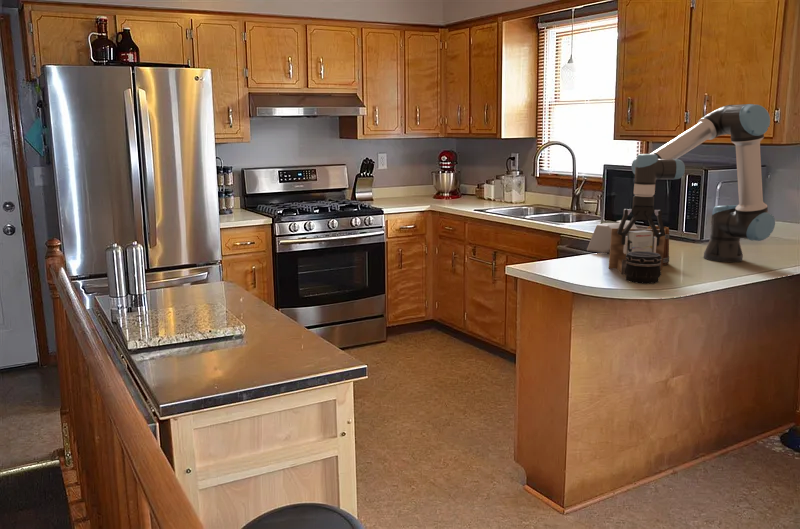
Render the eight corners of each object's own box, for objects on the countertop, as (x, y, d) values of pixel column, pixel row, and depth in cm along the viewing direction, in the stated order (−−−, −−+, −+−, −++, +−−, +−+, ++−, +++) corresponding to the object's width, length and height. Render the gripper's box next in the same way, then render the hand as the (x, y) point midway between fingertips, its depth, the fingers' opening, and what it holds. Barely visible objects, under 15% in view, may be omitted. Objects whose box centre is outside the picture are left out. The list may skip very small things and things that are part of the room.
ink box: (644, 259, 278) (646, 229, 275) (652, 262, 273) (654, 231, 271) (625, 261, 275) (626, 230, 273) (632, 263, 271) (634, 232, 268)
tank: (618, 256, 309) (621, 227, 306) (585, 251, 320) (587, 223, 317) (645, 249, 326) (647, 222, 324) (613, 245, 337) (615, 218, 335)
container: (622, 282, 256) (624, 255, 254) (624, 275, 268) (626, 249, 266) (660, 285, 252) (662, 258, 250) (661, 278, 263) (663, 252, 261)
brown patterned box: (661, 269, 279) (664, 229, 276) (668, 275, 269) (671, 233, 266) (608, 268, 282) (611, 227, 279) (613, 273, 271) (616, 232, 268)
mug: (671, 266, 287) (674, 229, 284) (643, 265, 289) (646, 228, 286) (664, 259, 302) (667, 224, 299) (638, 258, 304) (641, 223, 301)
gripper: (672, 195, 272) (667, 252, 276) (611, 193, 274) (607, 250, 278) (677, 197, 264) (672, 256, 269) (614, 195, 267) (610, 254, 271)
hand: (639, 253), depth 274 cm, fingers open, 10 cm apart
